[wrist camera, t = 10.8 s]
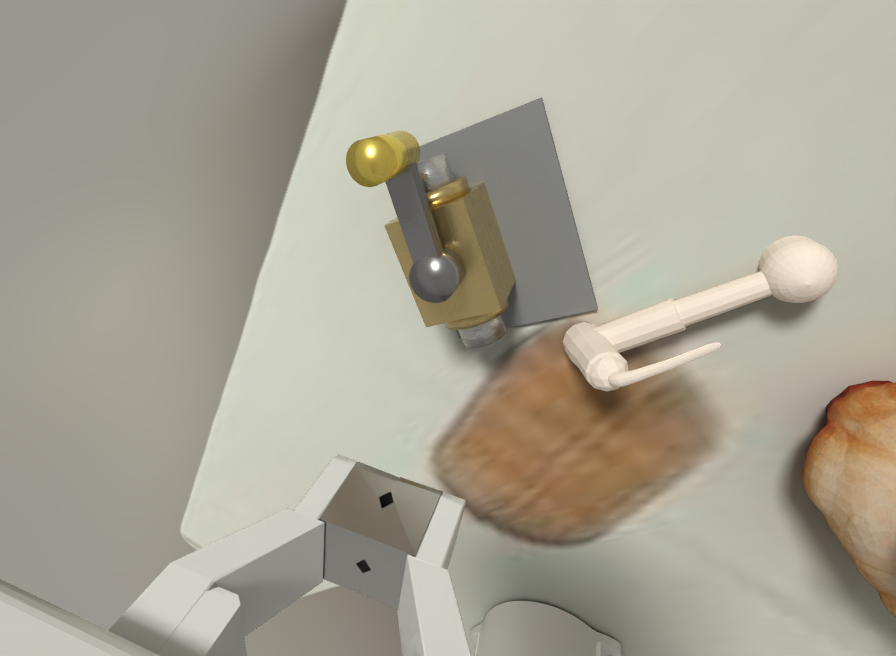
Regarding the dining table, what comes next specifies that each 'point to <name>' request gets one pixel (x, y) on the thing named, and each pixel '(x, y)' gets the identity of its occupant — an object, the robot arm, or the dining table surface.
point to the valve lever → (408, 210)
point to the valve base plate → (525, 210)
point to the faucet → (699, 312)
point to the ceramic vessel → (859, 480)
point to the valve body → (463, 255)
